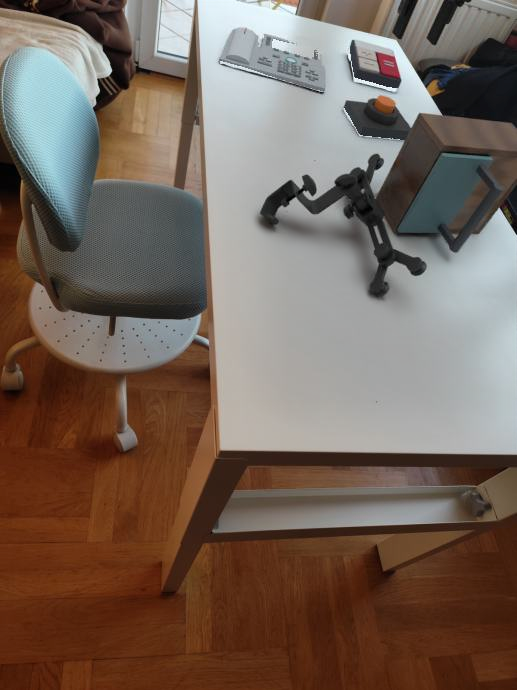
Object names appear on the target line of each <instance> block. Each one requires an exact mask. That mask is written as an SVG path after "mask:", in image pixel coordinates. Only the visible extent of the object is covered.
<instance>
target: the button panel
mask: <svg viewBox="0 0 517 690" xmlns="http://www.w3.org/2000/svg"><path fill="white" fill-rule="evenodd" d="M349 47H350V54H351V61H352V67H353V72H354V77H355V78H358V79H361V80H365V81H369V82H373V83H376V84H379V85H383V86H386V87H392V88H398V89H399V87H400V85H401V83H402V76H401V73H400V69H399V66H398V62H397V59H396V55H395V53H394V50H393V49H391V48H389V47H385V46H381V45H378V44H374V43H370V42H366V41H363V40H360V39H352V40H351V42H350V45H349Z"/></svg>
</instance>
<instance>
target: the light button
mask: <svg viewBox="0 0 517 690" xmlns="http://www.w3.org/2000/svg"><path fill="white" fill-rule="evenodd" d="M396 104H397V103H396V102H395V100H394V99H392V98H390V97H388V96H386V95H378V96H377V97H376V102H375V104H374V107H375V108H376V109H377V110H379V111H381V112H383V113H388V114H391V113H392V112H393V109H394V107H395V106H396Z"/></svg>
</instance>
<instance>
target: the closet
mask: <svg viewBox="0 0 517 690" xmlns="http://www.w3.org/2000/svg"><path fill="white" fill-rule="evenodd" d="M441 153H449V154H461V155H473V156H486V157H492V158H493V160H494V161H493V162H492V164H491V165H490V166H489V168H488V171H489V172H490V173H491V174H492V175H493V177H494V178H495V179H496V180H497V182H498V183H499V184H500V185H502V186H503V187H504V191H503V192H502V193H501V195H500V196H499V198H498V199H497V200H496V202H495V203H494V204H493V206H492V207H491V208H490V210H489V211H488V212H487V214H486V215H485V216H484V218H483V219H482V220H481V222H480V223H479V224H478V226H477V227H476V228H475V230H474V231H473V233H472V234H474V235H479V234H481V232H482V231H483V230H484V228H486V226H487V224H488V223H489V222H490V221H491V220H492V218H493V217H494V215H495V214H497V211H498V210H499V209H500V208H501V206H502V205H503V203H504V202H505V201H506V199H507V198H508V197H509V195H510V194H511V193H512V192H513V190H514V189H515V187H516V186H517V127H516V126H515V125H514V124H513V123H512V122H506V121H496V120H487V119H479V118H478V119H477V118H469V117H462V116H461V117H460V116H452V115H442V114H433V113H426V112H418V114H417V116H416V118H415V120H414V122H413V124H412V126H411V130H410V132H409V134H408V136H407V138H406V140H405V141H403V144H402V145H401V148H400V150H399V151H398V154H397V156H396V157H395V160H394V161H393V164H392V166H391V167H390V170H389V171H388V173H387V176H386V177H385V179H384V182H383V183H382V185H381V187H380V188H379V191H378V194H377V195H376V197H375V199H376V200H377V201H378V203H379V204H380V206H381V208H382V209H383V210H384V212H385V215H384V219H385V220H386V222H387V223H388V226H389V227H390V229H391V230H392V232H393V233H395V234H397V233H399V234H403V233H404V232H398V230H397V229H398V227H399V225H400V224H401V222H402V220H403V218H404V217H405V215H406V213H407V212H408V210H409V208H410V206H411V205H412V203H413V201H414V199H415V198H416V196H417V194H418V193H419V191H420V189H421V187H422V186H423V184H424V182H425V181H426V179H427V177H428V175H429V174H430V172H431V170H432V169H433V167H434V165H435V163H436V162H437V160H438V158H439V157H440V155H441ZM489 191H490V189H489V187H488V186H487V185H486V183H485V182H484V181H483V180H482V178H481V180H480V181H479V183H478V184H477V185H476V187H475V188H474V190H473V191H472V193H471V194H470V196H469V197H468V199H467V200H466V202H465V203H464V204H463V206H462V207H461V209H460V210H459V212H458V213H457V215H456V216H455V218H454V219H453V221H452V222H451V223H450V225H449V226H448V229H449V230H450V232H451V233H452V234H459V233H460V231H461V230H462V228H463V227H464V226H465V224H466V223H467V221H468V220H469V219H470V217H471V216H472V214H473V213H474V212H475V210H476V209H477V207H478V206H479V205H480V203H481V202H482V200H483V199H484V198H485V196H486V195H487V193H488V192H489ZM472 234H471V235H472Z"/></svg>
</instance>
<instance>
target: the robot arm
mask: <svg viewBox="0 0 517 690" xmlns="http://www.w3.org/2000/svg"><path fill="white" fill-rule="evenodd" d="M472 1H473V0H442V3H441V5H440V7H439V9H438V11H437V14H436V16H435V18H434V20H433V22H432V24H431V27H430V28H429V31H428V33H427V35H426V37H425V38H426V40H427V41H428V42H429V43H430V44H431V45H432V46H437V44H438V42H439V40H440V38H441V36H442V34H443V31H444V30H445V27H446V25H449V24H450V23H451V21H452V20H453V17H454V16H455V14H456V11H457V10H458V8H462V7H463V6H464V4H465V3H466V4H469V3H471V2H472ZM418 2H419V0H400V2H399V5H398V7H397V11H396V12H397V13H398V17H397V18H396V21H395V24H394V26H393V29H392V31H391V33H392V34H393V35H394V37H396V38H397V40H403V38H404V35H405V33H406V30H407V27H408V26H409V23H410V21H411V19H412V16H413V13H414V11H415V9H416V6H417V5H418Z"/></svg>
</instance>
